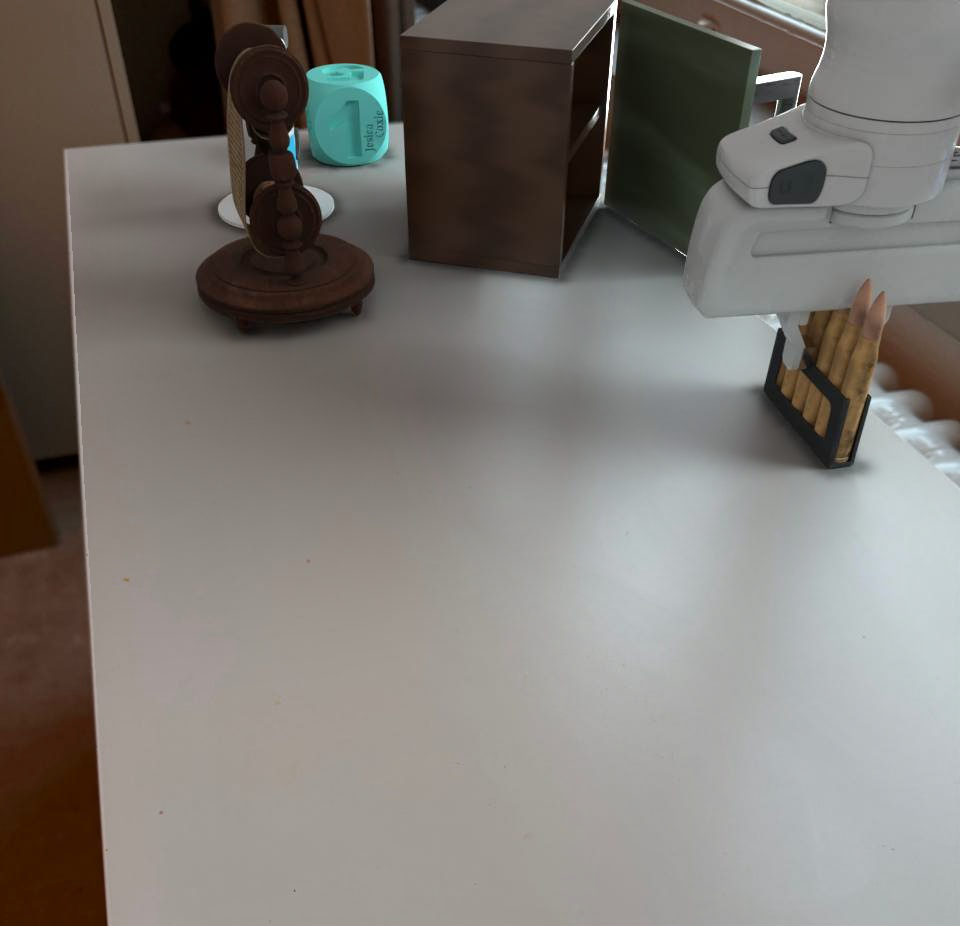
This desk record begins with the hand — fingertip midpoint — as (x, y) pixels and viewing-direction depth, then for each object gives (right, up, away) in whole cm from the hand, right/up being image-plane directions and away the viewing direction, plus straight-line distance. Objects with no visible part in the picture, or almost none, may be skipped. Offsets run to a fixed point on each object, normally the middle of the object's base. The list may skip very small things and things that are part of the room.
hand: (819, 364), depth 70 cm
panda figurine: (-43, +24, +31) cm, 59 cm away
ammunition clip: (0, -4, +3) cm, 5 cm away
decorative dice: (-38, +35, +43) cm, 67 cm away
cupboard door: (-3, +20, +28) cm, 35 cm away
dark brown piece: (-39, +10, +17) cm, 44 cm away
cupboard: (-20, +20, +28) cm, 40 cm away
